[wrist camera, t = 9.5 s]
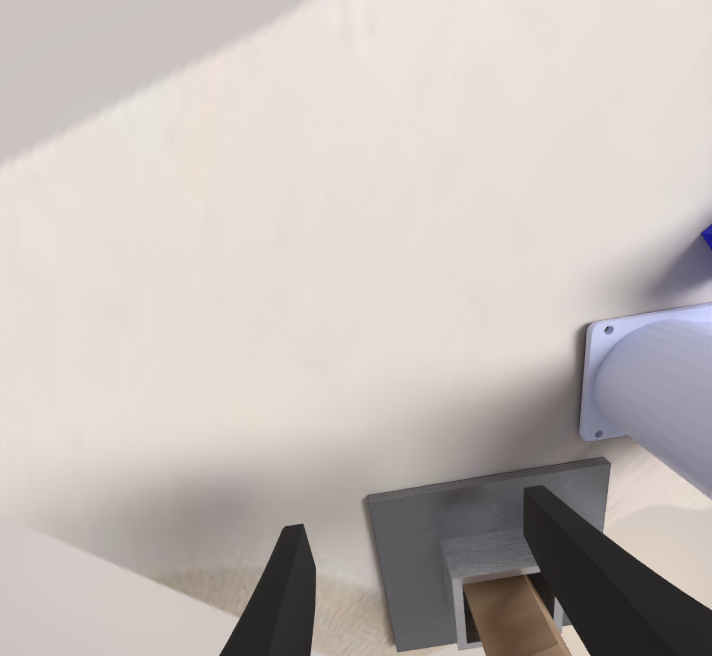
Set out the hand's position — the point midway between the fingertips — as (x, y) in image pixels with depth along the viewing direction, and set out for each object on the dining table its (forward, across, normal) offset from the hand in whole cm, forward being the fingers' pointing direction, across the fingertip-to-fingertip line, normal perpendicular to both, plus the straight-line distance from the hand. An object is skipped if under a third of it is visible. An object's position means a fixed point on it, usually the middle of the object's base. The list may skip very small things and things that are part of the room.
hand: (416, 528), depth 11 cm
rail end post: (+9, -6, +16) cm, 19 cm away
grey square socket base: (+9, -6, +16) cm, 20 cm away
